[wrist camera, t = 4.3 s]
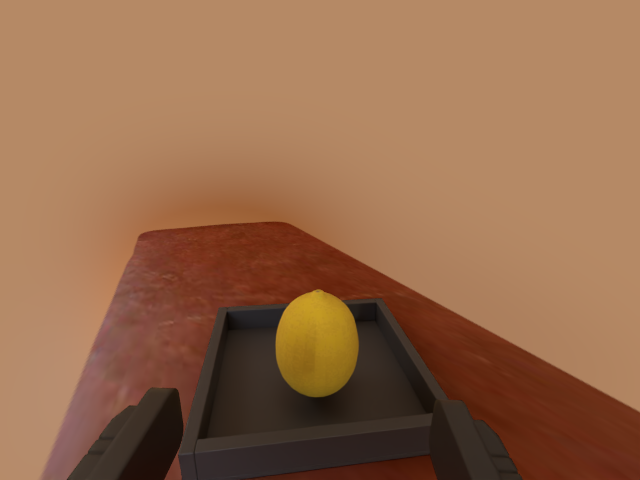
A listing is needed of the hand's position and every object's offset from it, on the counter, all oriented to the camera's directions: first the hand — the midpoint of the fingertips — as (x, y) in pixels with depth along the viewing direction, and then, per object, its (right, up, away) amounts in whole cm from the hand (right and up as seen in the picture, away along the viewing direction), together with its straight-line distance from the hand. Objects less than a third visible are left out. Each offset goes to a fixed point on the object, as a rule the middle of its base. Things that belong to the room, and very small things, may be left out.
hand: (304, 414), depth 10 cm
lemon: (0, -6, +13) cm, 14 cm away
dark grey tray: (0, -5, +15) cm, 16 cm away
